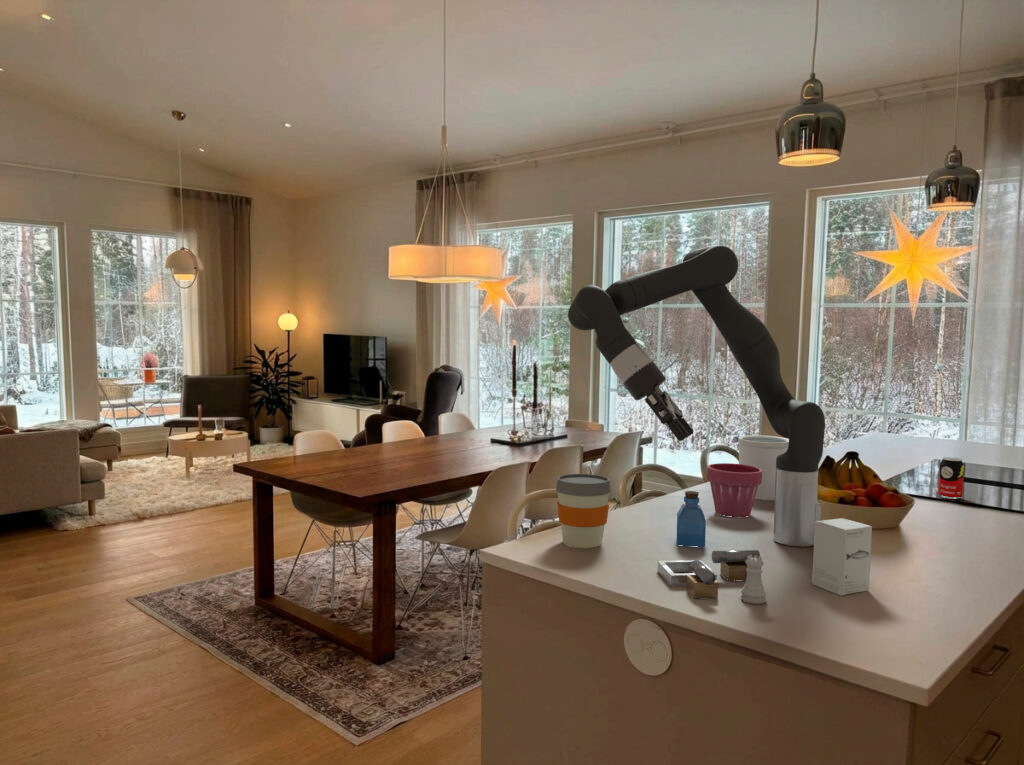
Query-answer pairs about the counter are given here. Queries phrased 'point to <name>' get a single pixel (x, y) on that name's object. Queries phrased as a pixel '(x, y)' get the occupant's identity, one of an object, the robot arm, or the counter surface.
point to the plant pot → (734, 487)
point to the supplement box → (842, 556)
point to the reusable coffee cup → (583, 508)
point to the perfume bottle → (691, 522)
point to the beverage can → (951, 477)
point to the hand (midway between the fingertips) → (687, 436)
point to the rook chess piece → (753, 582)
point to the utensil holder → (763, 459)
